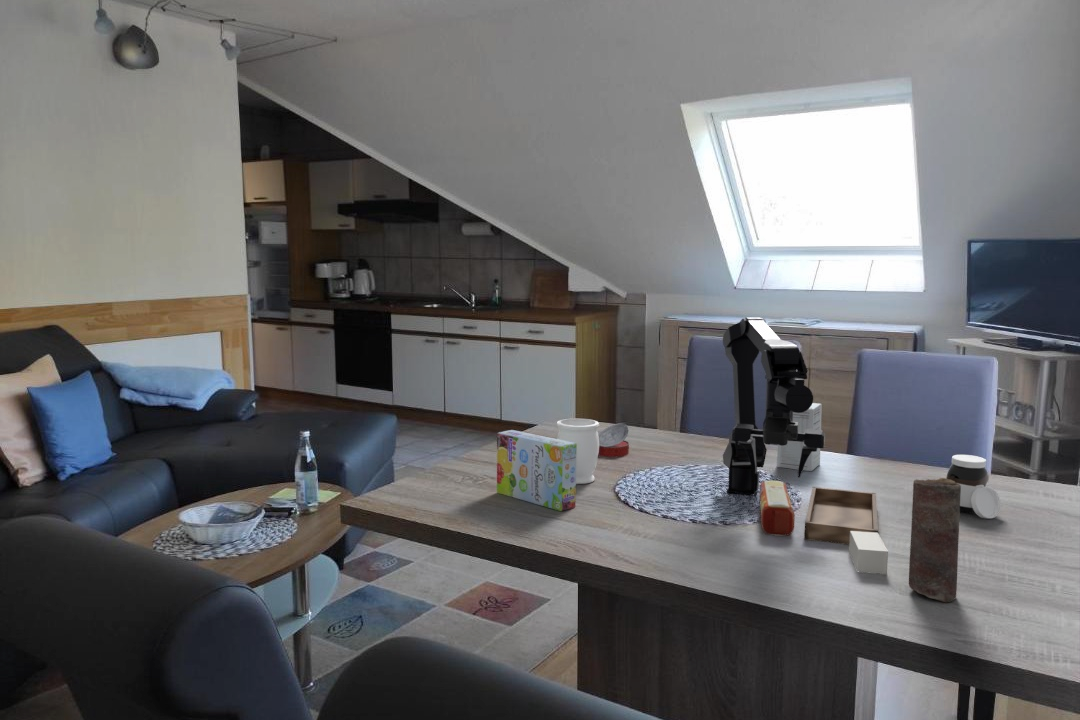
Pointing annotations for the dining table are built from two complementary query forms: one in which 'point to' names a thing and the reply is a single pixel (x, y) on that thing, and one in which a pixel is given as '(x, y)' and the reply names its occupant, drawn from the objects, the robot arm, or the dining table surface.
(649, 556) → the dining table surface
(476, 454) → the dining table surface
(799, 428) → the supplement box
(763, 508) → the snack package
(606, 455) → the canned food
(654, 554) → the dining table surface
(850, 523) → the tray
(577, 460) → the jar
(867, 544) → the small white box
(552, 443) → the snack box
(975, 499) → the spread jar
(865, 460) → the dining table surface
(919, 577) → the weathered brick
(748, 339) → the robot arm
